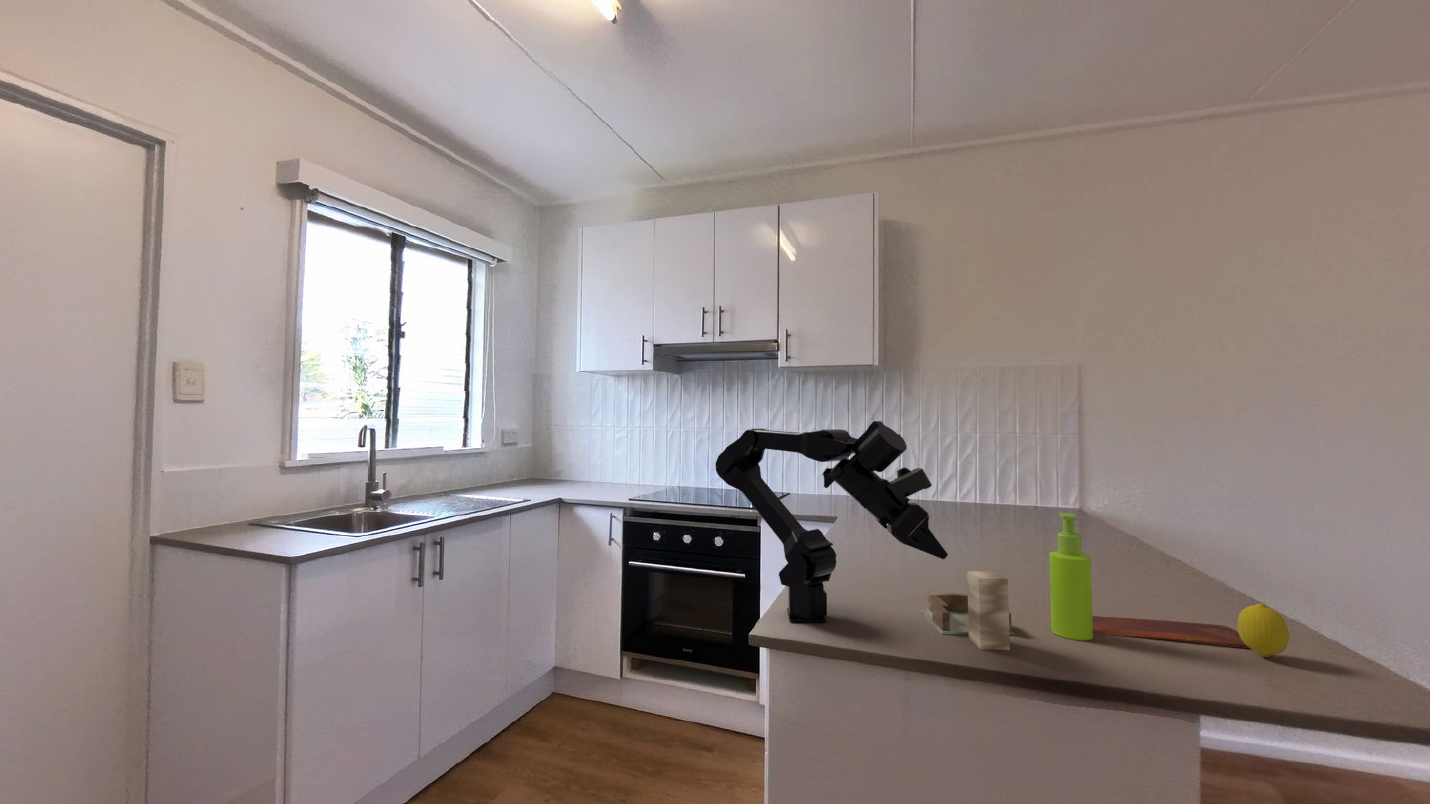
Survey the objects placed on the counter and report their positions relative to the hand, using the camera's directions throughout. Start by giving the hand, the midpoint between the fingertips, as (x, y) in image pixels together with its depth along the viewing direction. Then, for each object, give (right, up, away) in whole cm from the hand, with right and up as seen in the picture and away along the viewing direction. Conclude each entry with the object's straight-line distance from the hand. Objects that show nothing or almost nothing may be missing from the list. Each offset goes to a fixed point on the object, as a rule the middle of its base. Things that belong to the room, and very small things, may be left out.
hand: (938, 551), depth 91 cm
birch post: (+7, -14, -3) cm, 16 cm away
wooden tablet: (+37, -15, +3) cm, 40 cm away
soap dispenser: (+23, -14, +2) cm, 27 cm away
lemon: (+46, -14, -9) cm, 48 cm away
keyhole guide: (+7, -14, +6) cm, 17 cm away
